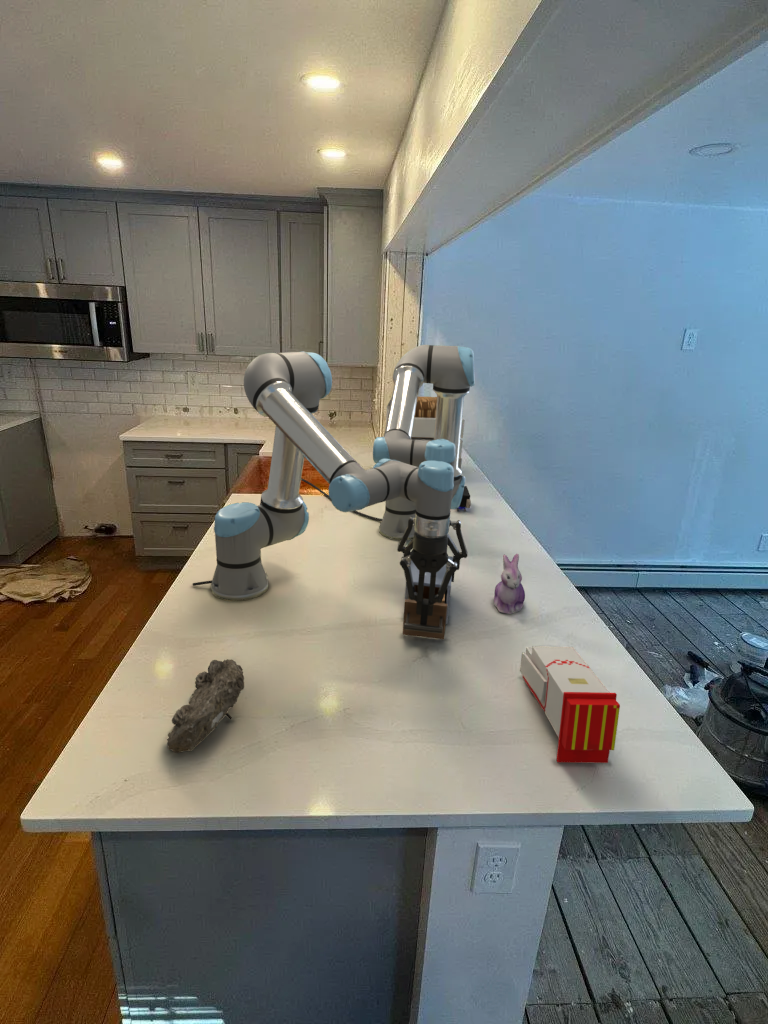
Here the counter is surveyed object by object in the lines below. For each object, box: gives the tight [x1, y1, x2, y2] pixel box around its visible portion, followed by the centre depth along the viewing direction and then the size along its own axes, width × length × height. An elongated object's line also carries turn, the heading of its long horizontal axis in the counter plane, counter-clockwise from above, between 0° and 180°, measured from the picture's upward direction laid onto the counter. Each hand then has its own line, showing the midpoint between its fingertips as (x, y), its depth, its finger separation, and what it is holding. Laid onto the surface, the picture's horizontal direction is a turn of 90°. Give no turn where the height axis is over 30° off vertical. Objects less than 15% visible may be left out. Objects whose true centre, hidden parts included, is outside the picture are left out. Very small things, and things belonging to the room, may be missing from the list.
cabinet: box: [404, 555, 453, 625], centre depth 150 cm, size 16×11×11 cm
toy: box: [519, 645, 621, 764], centre depth 112 cm, size 12×13×30 cm
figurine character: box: [456, 485, 472, 513], centre depth 228 cm, size 7×8×15 cm
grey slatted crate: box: [385, 396, 465, 471], centre depth 268 cm, size 34×33×41 cm
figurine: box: [493, 553, 526, 615], centre depth 151 cm, size 9×10×15 cm
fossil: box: [166, 658, 245, 754], centre depth 106 cm, size 22×10×15 cm
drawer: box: [402, 585, 447, 640], centre depth 139 cm, size 21×10×9 cm, turn 172°
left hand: (423, 626), depth 131 cm, fingers closed
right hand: (430, 577), depth 153 cm, fingers closed on cabinet, 11 cm apart
